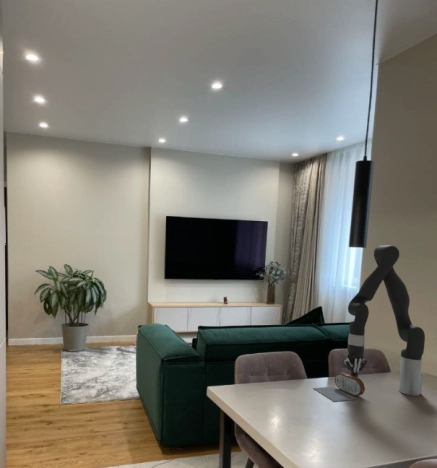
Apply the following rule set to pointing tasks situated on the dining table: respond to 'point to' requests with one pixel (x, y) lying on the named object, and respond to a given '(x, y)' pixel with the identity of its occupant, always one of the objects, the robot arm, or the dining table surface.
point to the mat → (334, 394)
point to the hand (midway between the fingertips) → (354, 379)
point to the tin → (349, 384)
